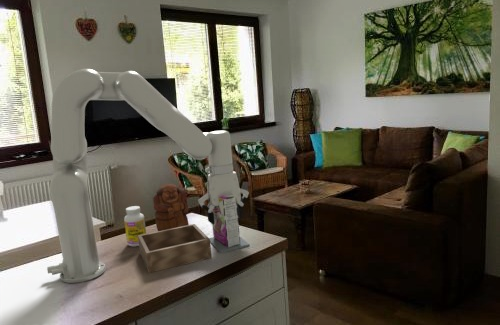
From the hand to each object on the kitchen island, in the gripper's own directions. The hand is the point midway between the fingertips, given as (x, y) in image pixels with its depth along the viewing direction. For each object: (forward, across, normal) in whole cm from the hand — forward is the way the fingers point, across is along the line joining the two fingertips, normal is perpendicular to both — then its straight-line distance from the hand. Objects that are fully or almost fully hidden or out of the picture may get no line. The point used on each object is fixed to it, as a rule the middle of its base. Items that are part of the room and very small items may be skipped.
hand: (226, 220), depth 136 cm
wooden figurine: (+8, -13, +22) cm, 27 cm away
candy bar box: (+7, 0, 0) cm, 8 cm away
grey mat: (+8, 0, 0) cm, 8 cm away
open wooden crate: (+8, -18, 0) cm, 20 cm away
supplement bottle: (+8, -27, +18) cm, 33 cm away
